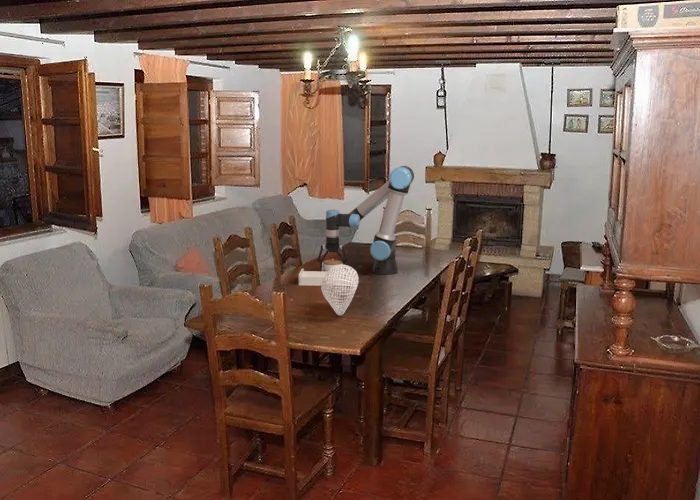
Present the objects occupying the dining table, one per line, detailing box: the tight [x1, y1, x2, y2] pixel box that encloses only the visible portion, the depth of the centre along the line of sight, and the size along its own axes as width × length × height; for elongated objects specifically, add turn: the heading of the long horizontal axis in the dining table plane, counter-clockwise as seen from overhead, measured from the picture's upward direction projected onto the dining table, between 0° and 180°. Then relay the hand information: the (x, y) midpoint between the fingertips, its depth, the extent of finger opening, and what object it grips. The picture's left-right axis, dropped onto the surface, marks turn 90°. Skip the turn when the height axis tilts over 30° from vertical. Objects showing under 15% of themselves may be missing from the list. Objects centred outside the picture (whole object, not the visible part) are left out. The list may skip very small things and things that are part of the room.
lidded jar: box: [323, 257, 342, 272], centre depth 382 cm, size 11×11×9 cm
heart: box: [320, 264, 359, 316], centre depth 300 cm, size 28×16×22 cm, turn 174°
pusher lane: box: [298, 268, 355, 287], centre depth 363 cm, size 31×15×6 cm, turn 87°
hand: (332, 273), depth 383 cm, fingers closed on lidded jar, 11 cm apart
